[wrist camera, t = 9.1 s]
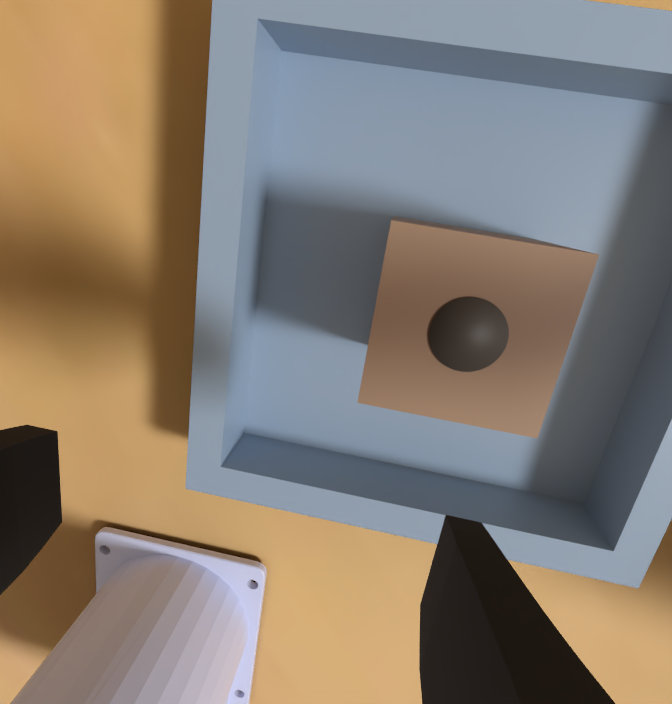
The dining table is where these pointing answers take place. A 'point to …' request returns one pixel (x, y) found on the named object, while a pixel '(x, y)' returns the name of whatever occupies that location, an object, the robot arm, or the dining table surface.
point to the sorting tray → (444, 208)
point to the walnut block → (472, 325)
